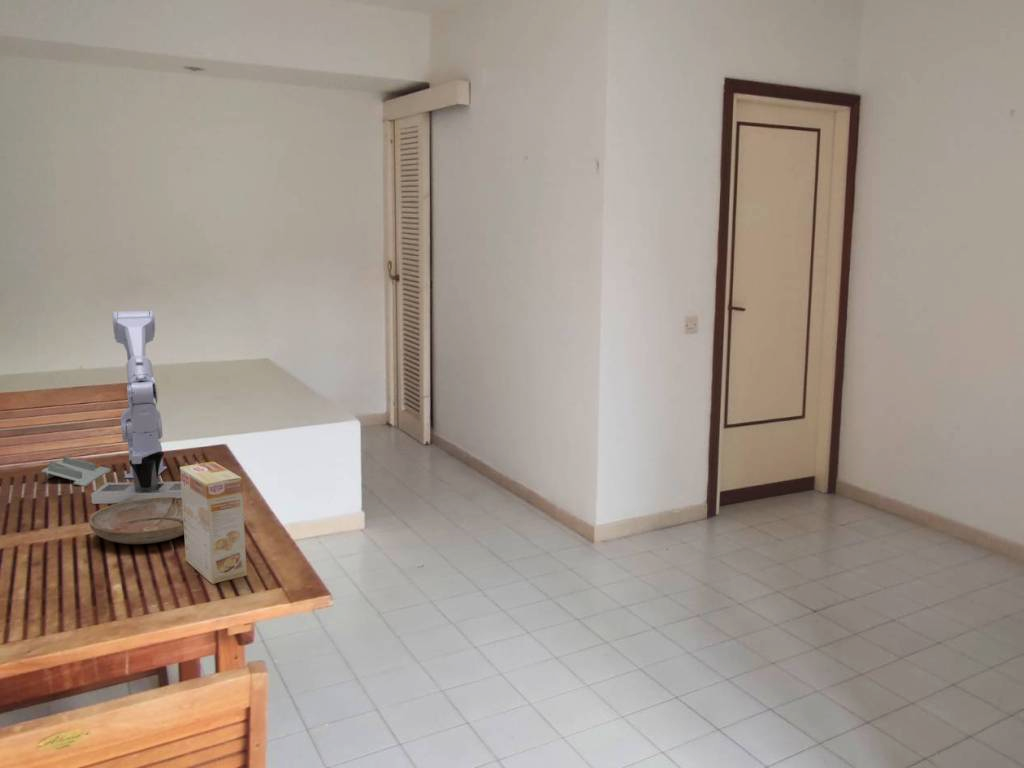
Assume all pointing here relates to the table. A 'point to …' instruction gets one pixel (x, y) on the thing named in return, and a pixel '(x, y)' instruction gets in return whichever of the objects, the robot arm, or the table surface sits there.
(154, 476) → the square peg
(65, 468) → the metal bracket
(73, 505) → the table surface
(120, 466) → the table surface
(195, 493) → the coffeecake box
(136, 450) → the robot arm
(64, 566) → the table surface
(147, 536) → the ceramic bowl
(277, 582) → the table surface
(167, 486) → the hole rail
